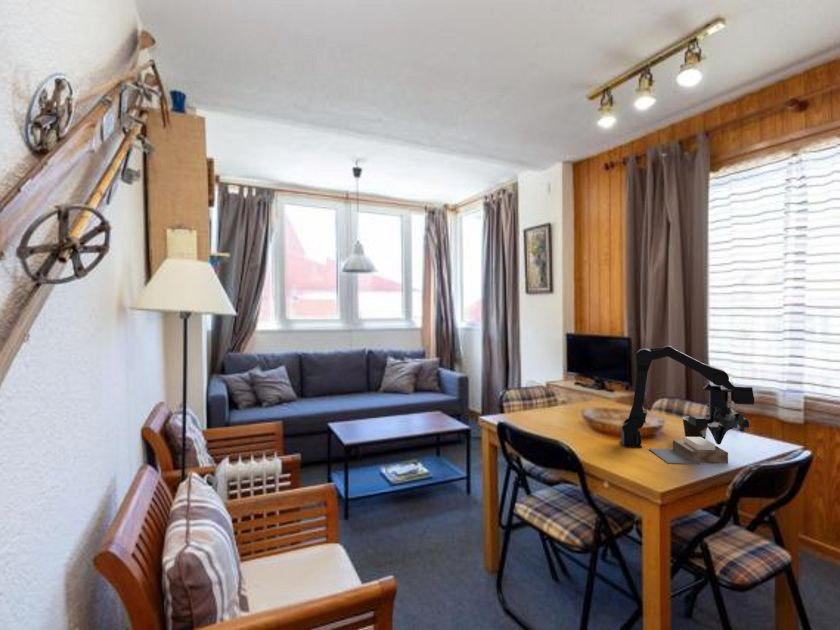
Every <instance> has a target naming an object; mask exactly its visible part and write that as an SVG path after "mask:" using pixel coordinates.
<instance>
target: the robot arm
mask: <svg viewBox="0 0 840 630" xmlns="http://www.w3.org/2000/svg"><path fill="white" fill-rule="evenodd" d="M666 357H669V358H670V359H672V360H674V361H676V362H678V363H680V364H682V365H684V366H686V367H688V368H689V369H691V370H694V371H695V372H698V373H699V374H700V375H701V376H702V377H704V378H705V379H707V381H710V383H712V384H714V385H712V384H710V383H708V382H707V384H706V385H705V386H702V388H703V390H704V391H709V393H708V394H709V395H708V398H709V399H708V403H706V405H707V407H708V413H707V414H706V418H705V417H704V416H701V415H690V416H688V417H689V418H688V423H690V424H692V425H694V426H697V427H706V426H707V429H708V430H709V432H710V433H711V435H712V438H713V439H714V442H715V443H716V444H717V445H719V446H720V445H721V443H722V442H723V439H724V437H725V435H726V434H727V433H728V431H730V430H733V429H738V427H740V428H751V427H750V426H751V425H750V424H751V422H750V420H749V419H748V418H745V417H744V414H742V413H732V411H731V407H730V406H729V401H730V402H732V403H733V405H742V406H751V407H752V406H754V405H755V396H754V391H753V389H754V388H753V387H752V386H750V385H747V386H744V385H743V386H741V385H734V383H732V382H730V376H729V374H728V373H727V372H726V371H725V370H724V369H722V368H719V367H716V366H714V365H712V364H711V365H710V364H707V363H703V362H701V361H700V360H697V359H695V358H694V357H691V356H689V355H687V354H686V353H684V352H682V351H680V350H677V349H676V348H674V347H673V346H671V345H665V346H661V347H653V348H650V349H649V348H647V347H643V348H640V349H639V350H638V351H637V352H636V356H635V358H636V370H637V371H636V372H637V373H636V377H635V378H636V380H635V388H634V396H633V401H632V406H631V407H630V411H629V415H628V417H627V418H626V419H625V420H624V421H623V423H622V426H621V429H620V433H621V435H620V436H621V437H620V439H621V440H620V441H619V443H620V444H621V445H622V446H623V447H624V448H643V446H642V433H641V431H640V429H641V428H643V426H644V424H646V423H647V415H648V410H647V409H644V399H645V393H646V385H647V384H646V383H647V377H648V373H649V370H650V368H651V364H652V362H653V361H655V360H658V359H662V358H666ZM721 386H722V387H724V388H722V387H721ZM716 444H715V445H716Z"/></svg>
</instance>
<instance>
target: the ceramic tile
mask: <svg viewBox="0 0 840 630" xmlns="http://www.w3.org/2000/svg"><path fill="white" fill-rule="evenodd" d="M683 440H684V442H685V443H687V444H689V445H690V446H692V447H694V448H695V449H697V450H715V446H716V444H714V443H713V442H711V441H709V440H708V439H706V438H705V439H704V438H702V437H685V436H684V437H683Z"/></svg>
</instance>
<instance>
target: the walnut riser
mask: <svg viewBox="0 0 840 630" xmlns="http://www.w3.org/2000/svg"><path fill="white" fill-rule="evenodd" d="M672 449H674V450H675V451H677V452H678V453H680V454H681V455H683V456H684V457H686V458H687V459H689V460H690V461H692V462H699V463H700V464H721V465H723V464H726V465H728V464H729V452H728V451H727V450H724V449H723V448H720V447H718V446H717V445H715V450H697V449H695V448H694V447H692V446H690V445H689V444H687V443H685V442H684V439H672Z"/></svg>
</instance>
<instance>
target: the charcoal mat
mask: <svg viewBox="0 0 840 630" xmlns="http://www.w3.org/2000/svg"><path fill="white" fill-rule="evenodd" d="M648 451H651V452H652V453H653V454H654V455H655V456H657V457H658V458H660V459H661V460H662V461H664V462H665V463H666V464H667V465H701V463H699V462H692V461H690V460H689V459H687V458H686V457H684V456H683V455H681V454H680V453H678V452H677V451H675V450H674V449H673V448H648Z"/></svg>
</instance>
